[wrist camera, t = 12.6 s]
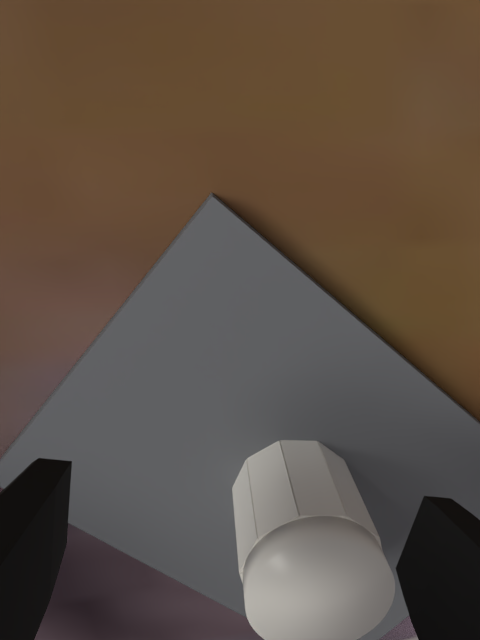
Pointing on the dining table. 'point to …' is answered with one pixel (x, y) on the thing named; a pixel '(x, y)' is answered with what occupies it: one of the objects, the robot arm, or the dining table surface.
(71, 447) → the post board
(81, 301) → the dining table surface
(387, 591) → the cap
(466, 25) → the dining table surface
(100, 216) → the dining table surface
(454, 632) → the robot arm
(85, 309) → the dining table surface
